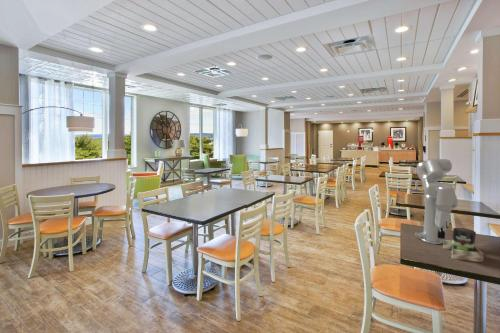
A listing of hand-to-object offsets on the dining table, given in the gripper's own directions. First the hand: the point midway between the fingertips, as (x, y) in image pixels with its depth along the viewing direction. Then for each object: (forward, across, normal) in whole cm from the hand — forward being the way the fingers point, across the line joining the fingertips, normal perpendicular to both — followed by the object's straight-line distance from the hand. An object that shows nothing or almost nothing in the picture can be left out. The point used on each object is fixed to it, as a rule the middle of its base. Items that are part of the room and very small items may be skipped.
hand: (440, 237), depth 162 cm
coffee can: (+9, 0, +11) cm, 14 cm away
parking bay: (+8, 0, +10) cm, 13 cm away
